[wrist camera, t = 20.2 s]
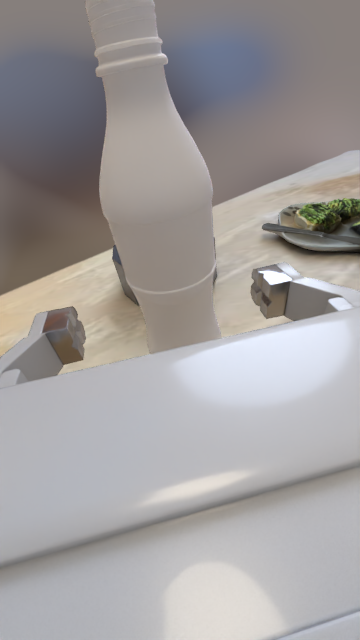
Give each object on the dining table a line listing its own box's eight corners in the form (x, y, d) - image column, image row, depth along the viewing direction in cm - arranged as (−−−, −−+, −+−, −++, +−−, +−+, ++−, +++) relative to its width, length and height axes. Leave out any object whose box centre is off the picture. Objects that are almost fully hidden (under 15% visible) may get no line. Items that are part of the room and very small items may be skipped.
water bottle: (141, 363, 29) (10, 21, 12) (187, 326, 32) (134, 14, 15) (188, 402, 25) (86, -40, 8) (236, 355, 28) (237, -32, 11)
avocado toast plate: (261, 262, 40) (263, 232, 37) (261, 213, 52) (262, 188, 49) (415, 260, 35) (433, 226, 32) (374, 207, 47) (384, 179, 44)
